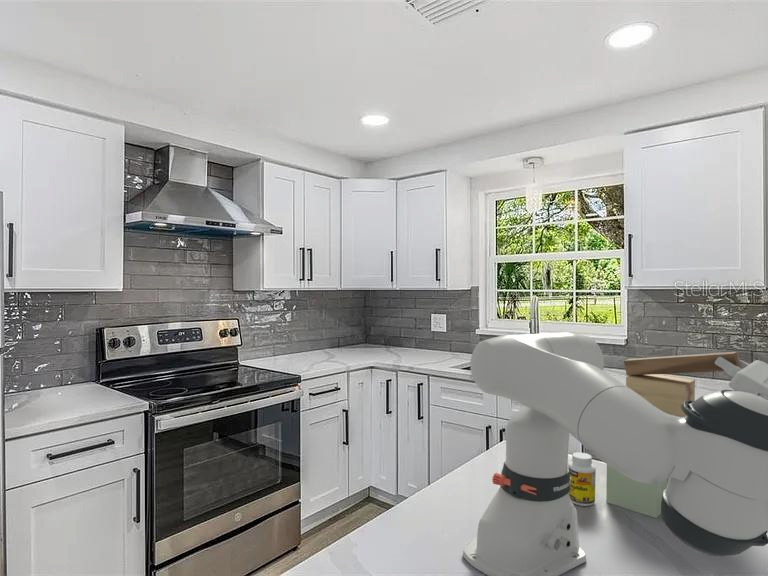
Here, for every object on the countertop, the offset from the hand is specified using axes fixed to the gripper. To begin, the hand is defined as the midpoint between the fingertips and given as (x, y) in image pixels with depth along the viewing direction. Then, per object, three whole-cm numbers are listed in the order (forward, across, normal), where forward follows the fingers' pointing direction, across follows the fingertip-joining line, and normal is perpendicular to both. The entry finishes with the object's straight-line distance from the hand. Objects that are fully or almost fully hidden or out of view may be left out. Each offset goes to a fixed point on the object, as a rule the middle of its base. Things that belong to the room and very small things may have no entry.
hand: (719, 357), depth 105 cm
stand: (-6, 0, -34) cm, 34 cm away
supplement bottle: (+3, -18, -39) cm, 43 cm away
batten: (+4, 0, -7) cm, 8 cm away
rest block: (-5, -11, -34) cm, 36 cm away
